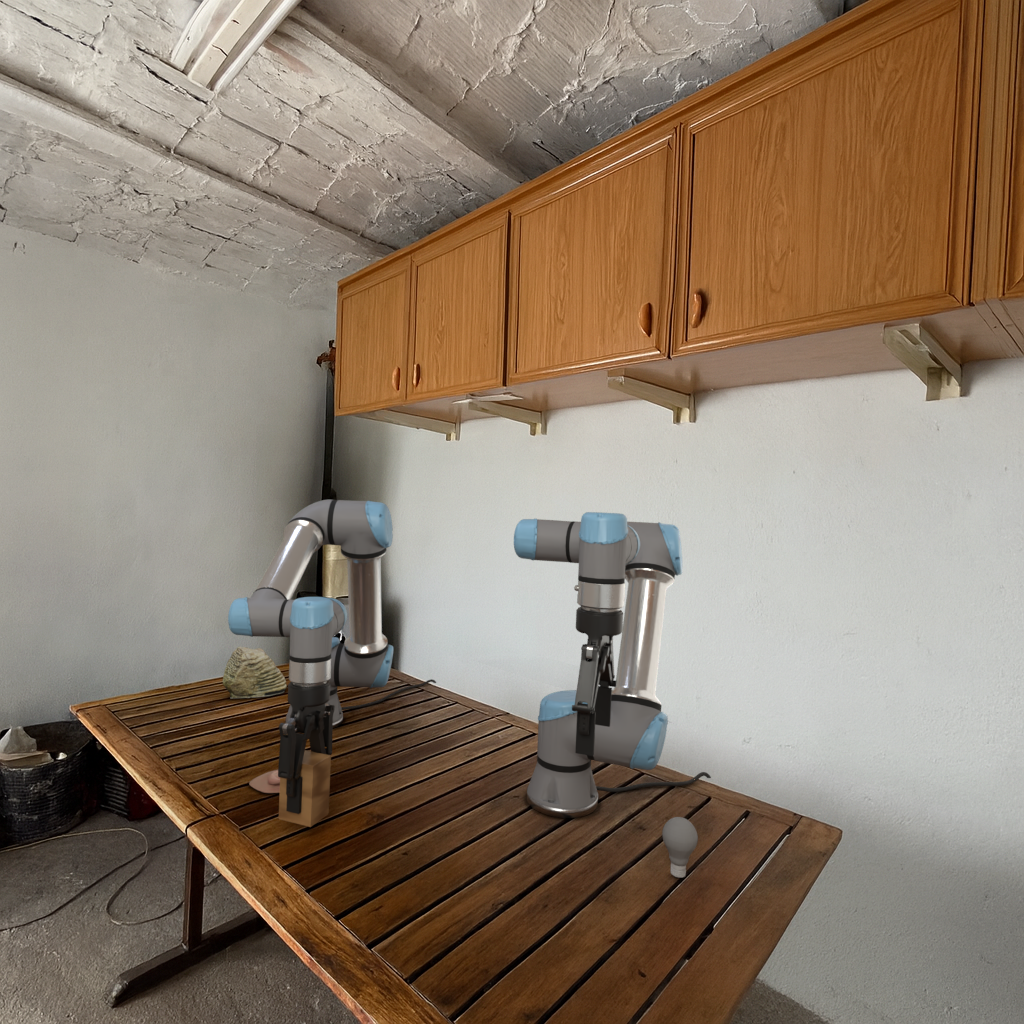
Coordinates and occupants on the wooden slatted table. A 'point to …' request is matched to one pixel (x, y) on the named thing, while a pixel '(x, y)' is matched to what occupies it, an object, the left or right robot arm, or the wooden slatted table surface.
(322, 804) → the block
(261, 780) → the anatomical model
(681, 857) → the light bulb
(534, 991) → the wooden slatted table surface
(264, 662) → the fossil
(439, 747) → the wooden slatted table surface
